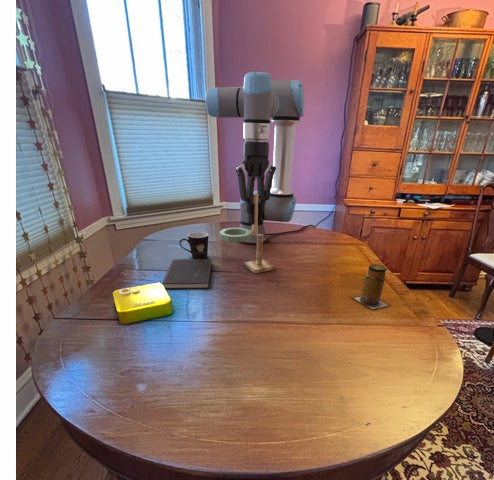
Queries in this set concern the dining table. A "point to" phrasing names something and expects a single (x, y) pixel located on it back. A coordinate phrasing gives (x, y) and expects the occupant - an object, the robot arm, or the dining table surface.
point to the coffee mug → (197, 244)
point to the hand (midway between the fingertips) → (254, 222)
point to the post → (259, 259)
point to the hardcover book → (188, 274)
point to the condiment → (373, 287)
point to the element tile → (142, 303)
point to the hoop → (245, 233)
